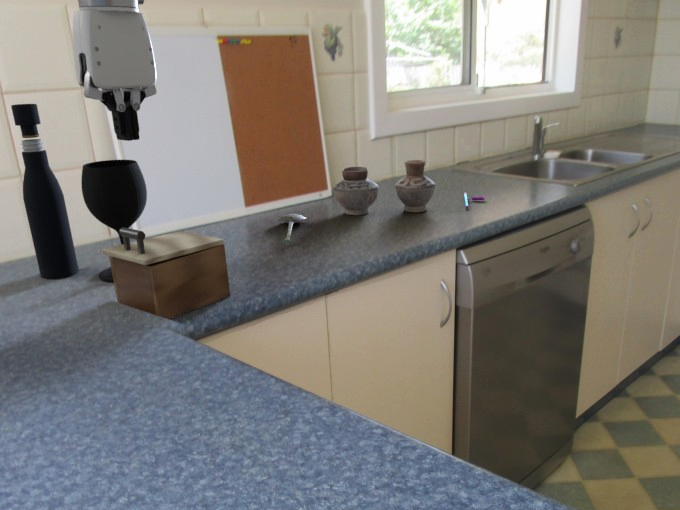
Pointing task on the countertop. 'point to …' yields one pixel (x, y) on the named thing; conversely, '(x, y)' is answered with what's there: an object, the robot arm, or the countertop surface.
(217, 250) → the chest
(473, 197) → the squeegee
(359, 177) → the pottery
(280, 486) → the countertop surface
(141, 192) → the wine glass
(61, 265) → the black water bottle
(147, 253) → the chest lid
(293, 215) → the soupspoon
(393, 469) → the countertop surface
